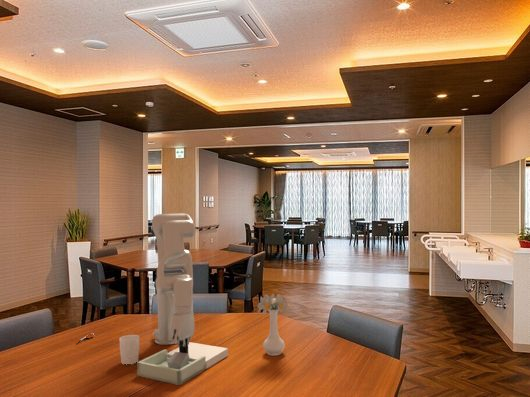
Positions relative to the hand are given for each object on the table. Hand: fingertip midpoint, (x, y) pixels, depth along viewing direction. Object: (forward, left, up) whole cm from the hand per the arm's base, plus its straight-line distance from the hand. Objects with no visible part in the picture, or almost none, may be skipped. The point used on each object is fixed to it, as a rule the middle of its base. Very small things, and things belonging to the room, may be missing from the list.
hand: (183, 355), depth 169 cm
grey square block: (+1, -4, -2) cm, 4 cm away
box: (0, -7, -4) cm, 8 cm away
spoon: (-63, +3, -5) cm, 63 cm away
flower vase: (+26, +28, -4) cm, 39 cm away
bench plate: (0, +9, -4) cm, 10 cm away
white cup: (-23, -6, -4) cm, 24 cm away
